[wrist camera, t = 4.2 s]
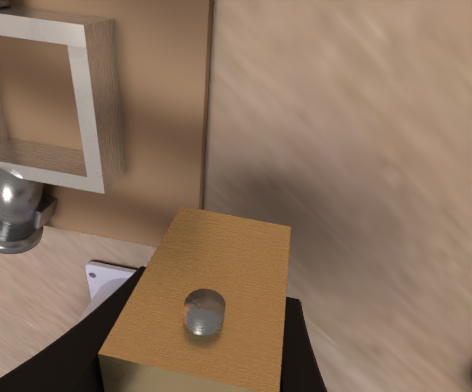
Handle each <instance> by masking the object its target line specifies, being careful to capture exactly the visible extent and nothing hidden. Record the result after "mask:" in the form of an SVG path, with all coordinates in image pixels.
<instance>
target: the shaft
mask: <svg viewBox="0 0 472 392" xmlns="http://www.w3.org/2000/svg"><path fill="white" fill-rule="evenodd" d="M43 185H44V183H42V182H37V181H31V180H26V179H21V178H19V177H17V176H15V175H13V174H10V173H8V172H6V171H4V170H2V169H0V253H3V254H18V253H23V252H26V251H28V250H30V249H32V248H34V247H35V246H36V245H37V244H38V243H39V242H40V240H41V238H42V233H43V225H44V224H45V223H46V222H47V221H48V220H49V219H50V218H51V217H52V216H53V215H54V214H55V209H56V205H57V200H58V198H56V197H53V196H51V195H49V194H47V193H45V192H43Z"/></svg>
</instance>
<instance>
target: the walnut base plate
mask: <svg viewBox="0 0 472 392" xmlns="http://www.w3.org/2000/svg"><path fill="white" fill-rule="evenodd" d="M9 2H10V4H11V5H16V6H23V7H31V8H38V9H46V10H53V11H61V12H68V13H75V14H83V15H90V16H98V17H105V18H113V19H114V23H115V35H116V47H117V60H118V72H119V84H120V97H121V109H122V122H123V134H124V146H125V159H126V172H125V173H124V174H123V175H122V176H121V177H120V178H119V179H118V180H117V181H116V182H115V183H114V185H113V186H112V187H111V188H110V189H109V190H108V191H107V192H106V193H105V194H102V193H97V192H91V191H86V190H80V189H75V188H69V187H64V186H59V185H53V184H48V183H44V185H43V192H45V193H47V194H49V195H51V196H53V197H56V198H58V200H57V205H56V209H55V214H54V215H53V216H52V217H51V218H50V219H49V220H48V221H47V222H46V223H45V224H44V225H45V226H50V227H55V228H61V229H66V230H71V231H76V232H81V233H86V234H91V235H96V236H101V237H107V238H112V239H117V240H122V241H127V242H132V243H137V244H142V245H148V246H153V247H158V246H159V244H160V242H161V241H162V239H163V237H164V235H165V234H166V232H167V230H168V228H169V226H170V225H171V223H172V221H173V219H174V218H175V216H176V214H177V212H178V210H179V209H180V207H181V206H185V207H190V208H196V209H201V210H202V199H203V181H204V163H205V145H206V126H207V108H208V90H209V72H210V53H211V35H212V17H213V0H9ZM0 103H1V107H2V110H3V114H4V118H5V122H6V125H7V129H8V133H9V136H10V138H13V139H19V140H25V141H31V142H37V143H42V144H48V145H54V146H60V147H66V148H71V149H77V150H83V146H82V139H81V132H80V126H79V119H78V113H77V106H76V99H75V93H74V86H73V80H72V73H71V66H70V60H69V53H68V46H67V45H64V44H57V43H50V42H43V41H36V40H29V39H22V38H15V37H8V36H1V35H0Z"/></svg>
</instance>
